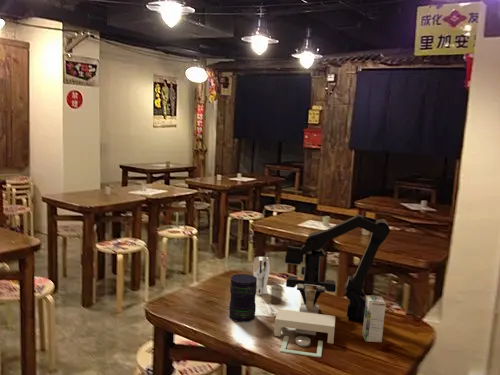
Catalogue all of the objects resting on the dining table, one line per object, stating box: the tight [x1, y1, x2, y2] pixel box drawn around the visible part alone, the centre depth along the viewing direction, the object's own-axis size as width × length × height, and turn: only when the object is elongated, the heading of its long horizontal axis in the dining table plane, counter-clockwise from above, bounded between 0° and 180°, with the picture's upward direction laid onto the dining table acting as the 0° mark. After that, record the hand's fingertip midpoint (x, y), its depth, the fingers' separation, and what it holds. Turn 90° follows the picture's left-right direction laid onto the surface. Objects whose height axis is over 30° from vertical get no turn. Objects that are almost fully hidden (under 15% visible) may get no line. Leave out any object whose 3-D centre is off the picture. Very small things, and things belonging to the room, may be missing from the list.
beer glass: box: [252, 256, 271, 296], centre depth 203 cm, size 7×7×15 cm
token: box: [294, 335, 311, 348], centre depth 159 cm, size 5×5×2 cm
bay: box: [279, 335, 324, 359], centre depth 156 cm, size 13×11×1 cm
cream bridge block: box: [273, 308, 336, 344], centre depth 166 cm, size 20×9×6 cm, turn 79°
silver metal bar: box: [295, 288, 320, 336], centre depth 177 cm, size 24×7×8 cm, turn 170°
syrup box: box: [362, 295, 387, 343], centre depth 164 cm, size 6×6×14 cm
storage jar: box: [228, 273, 257, 323], centre depth 177 cm, size 10×10×15 cm
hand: (309, 304), depth 185 cm, fingers closed on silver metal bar, 3 cm apart
